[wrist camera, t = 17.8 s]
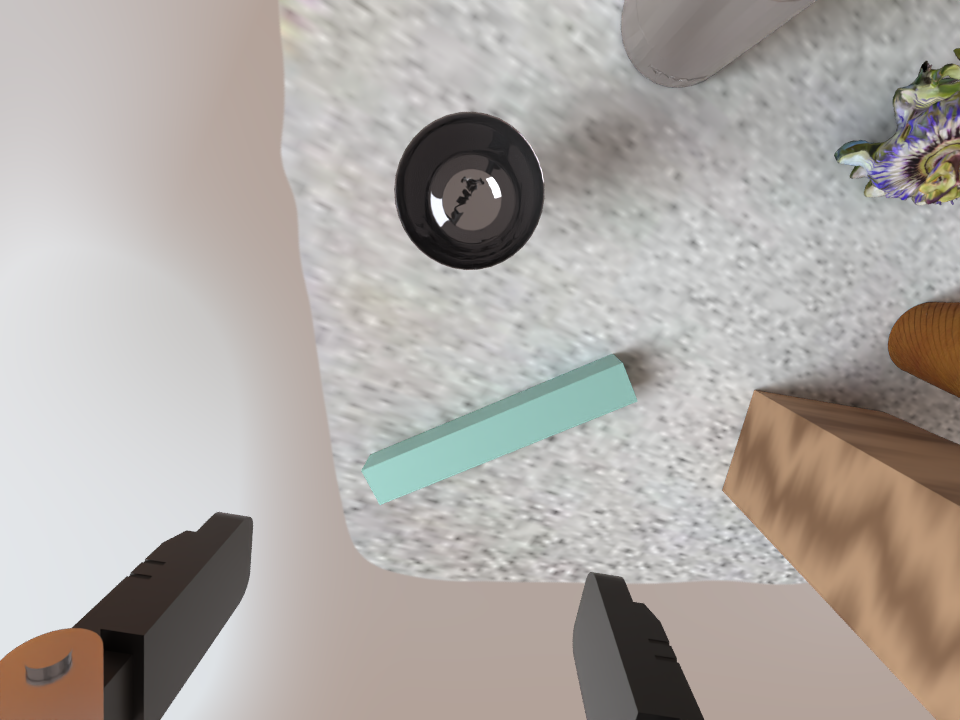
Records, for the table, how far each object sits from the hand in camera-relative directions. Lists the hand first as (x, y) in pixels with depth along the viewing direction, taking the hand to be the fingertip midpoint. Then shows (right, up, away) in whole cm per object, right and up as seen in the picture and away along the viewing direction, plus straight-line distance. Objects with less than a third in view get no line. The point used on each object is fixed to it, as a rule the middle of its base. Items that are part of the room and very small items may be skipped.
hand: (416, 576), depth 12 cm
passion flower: (+35, +23, +27) cm, 50 cm away
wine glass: (+1, +17, +29) cm, 34 cm away
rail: (+3, -1, +34) cm, 34 cm away
